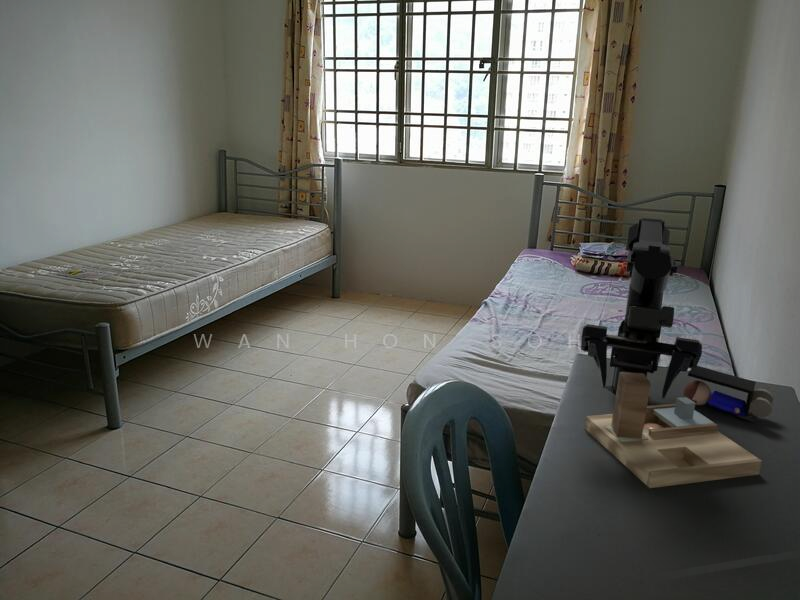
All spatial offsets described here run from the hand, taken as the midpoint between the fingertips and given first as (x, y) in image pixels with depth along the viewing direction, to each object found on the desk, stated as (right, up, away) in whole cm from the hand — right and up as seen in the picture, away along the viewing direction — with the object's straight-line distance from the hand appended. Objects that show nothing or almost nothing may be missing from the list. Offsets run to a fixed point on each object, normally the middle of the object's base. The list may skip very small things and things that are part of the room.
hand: (633, 392), depth 104 cm
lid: (+12, -6, +9) cm, 16 cm away
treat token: (+7, -9, +9) cm, 14 cm away
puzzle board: (+7, -11, +4) cm, 13 cm away
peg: (0, -7, +4) cm, 8 cm away
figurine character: (+25, -7, +21) cm, 33 cm away
